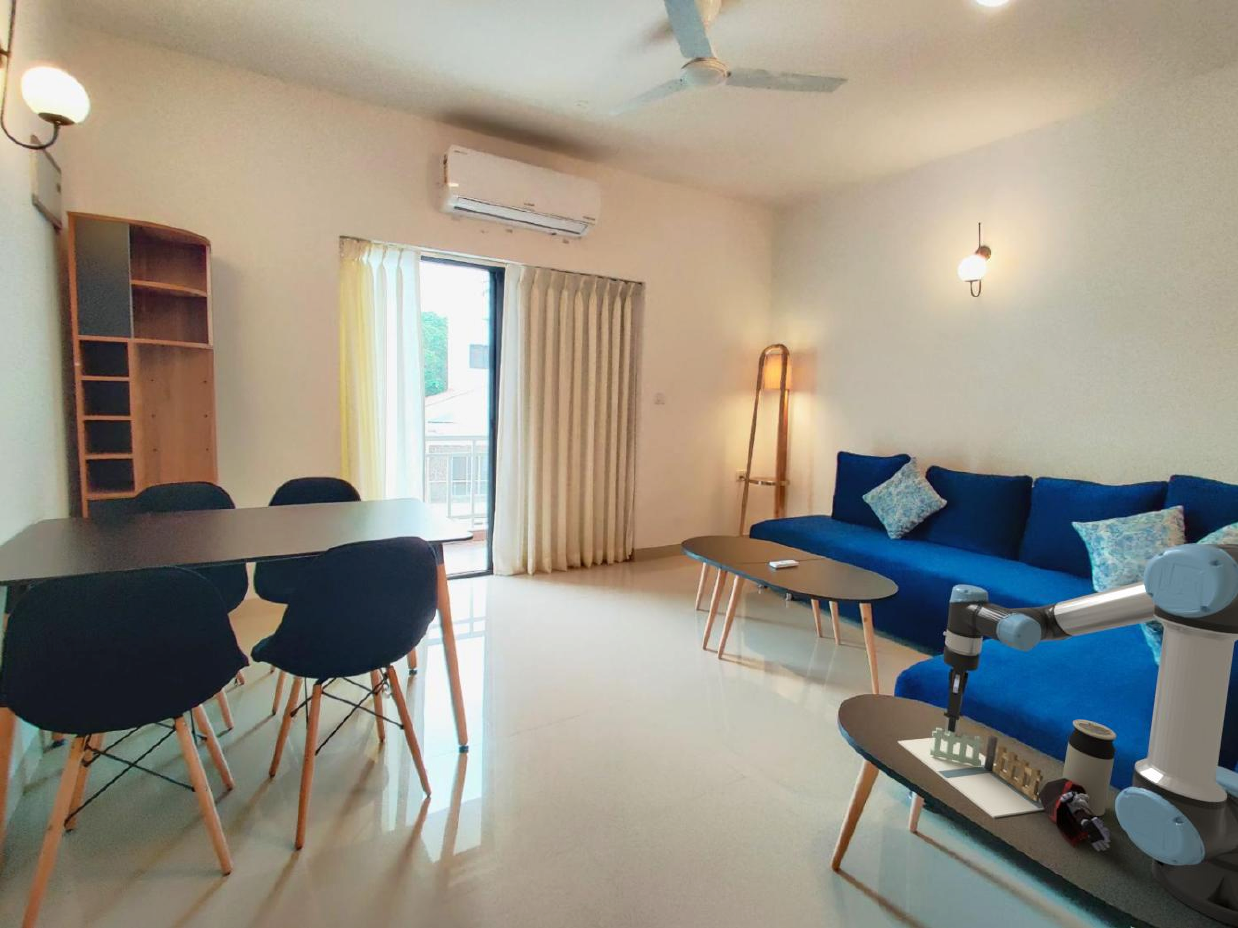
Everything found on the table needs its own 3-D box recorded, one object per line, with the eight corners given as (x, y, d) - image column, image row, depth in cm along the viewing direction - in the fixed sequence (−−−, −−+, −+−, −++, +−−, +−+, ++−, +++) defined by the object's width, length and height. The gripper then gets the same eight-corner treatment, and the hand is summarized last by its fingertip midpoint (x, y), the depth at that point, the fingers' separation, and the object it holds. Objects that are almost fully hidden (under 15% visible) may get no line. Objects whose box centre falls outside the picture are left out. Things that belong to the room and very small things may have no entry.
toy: (1095, 793, 115) (1059, 756, 130) (1048, 814, 117) (1018, 776, 132) (1136, 850, 114) (1095, 806, 128) (1088, 871, 116) (1053, 825, 130)
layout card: (1057, 808, 130) (1058, 805, 130) (993, 817, 125) (993, 815, 125) (954, 736, 157) (954, 735, 157) (897, 742, 152) (898, 740, 152)
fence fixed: (1039, 804, 131) (1045, 768, 130) (1033, 805, 131) (1039, 769, 130) (987, 768, 144) (992, 734, 143) (982, 768, 143) (987, 735, 143)
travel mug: (1109, 821, 127) (1123, 742, 125) (1064, 808, 130) (1077, 731, 129) (1097, 800, 134) (1111, 725, 133) (1055, 788, 138) (1067, 714, 136)
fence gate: (979, 764, 144) (983, 737, 143) (980, 766, 143) (984, 739, 142) (929, 753, 147) (933, 726, 146) (930, 755, 146) (933, 728, 145)
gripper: (947, 637, 151) (936, 725, 154) (941, 653, 141) (929, 747, 143) (982, 645, 147) (969, 735, 149) (978, 662, 136) (965, 759, 139)
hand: (949, 741), depth 146 cm, fingers closed
